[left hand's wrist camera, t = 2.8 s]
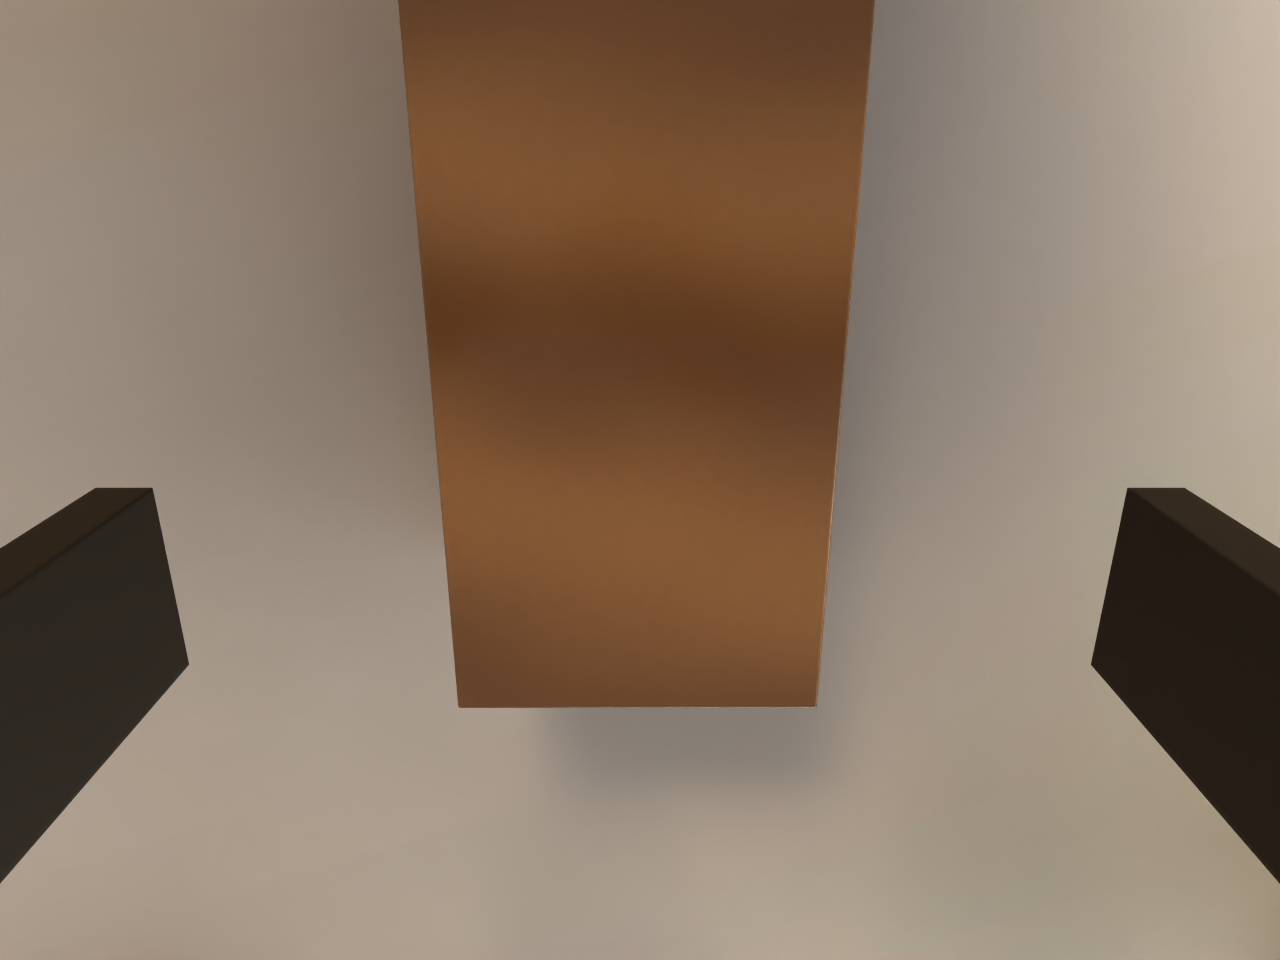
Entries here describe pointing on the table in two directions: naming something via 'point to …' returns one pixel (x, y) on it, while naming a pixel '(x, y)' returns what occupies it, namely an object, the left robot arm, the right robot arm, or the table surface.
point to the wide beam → (636, 337)
